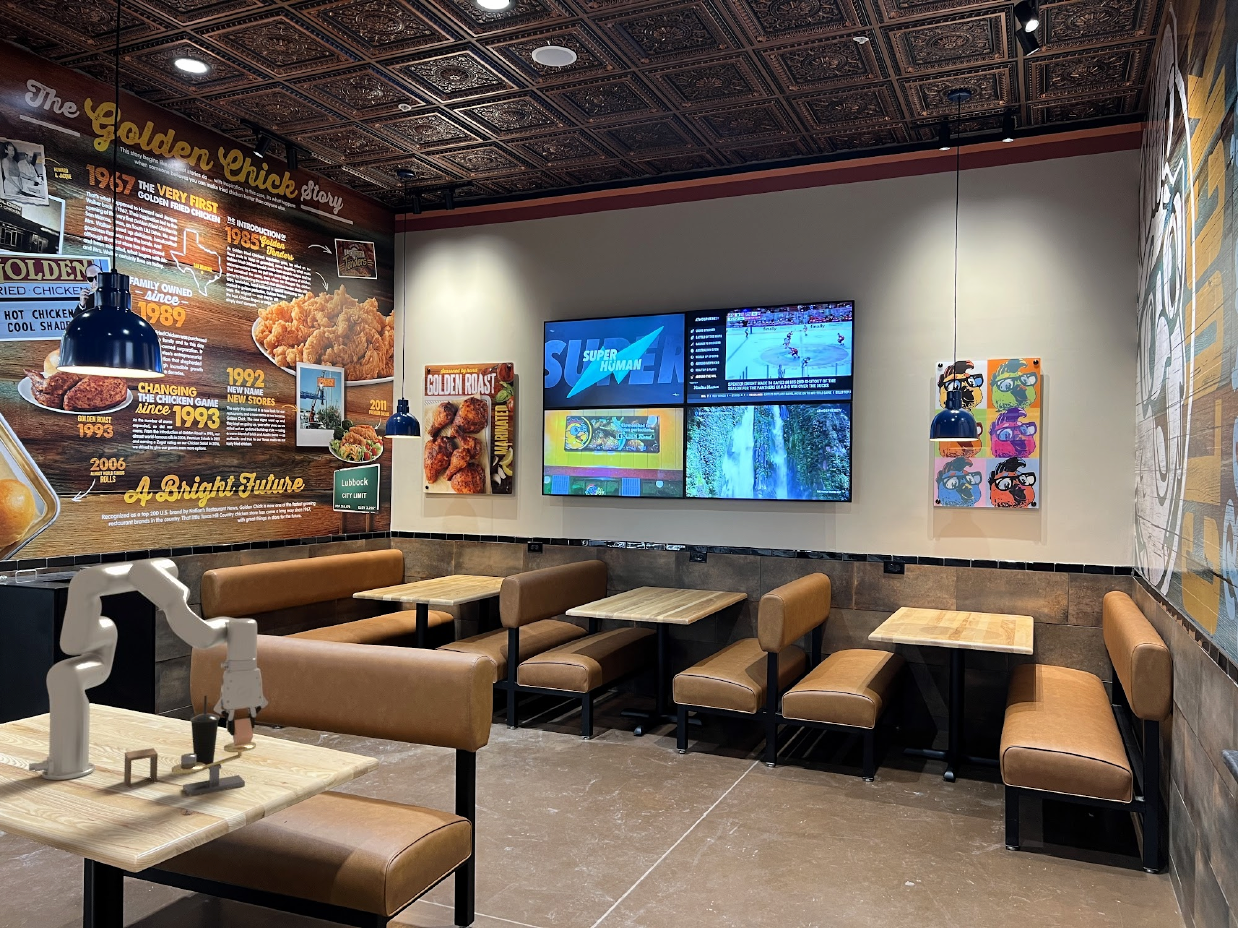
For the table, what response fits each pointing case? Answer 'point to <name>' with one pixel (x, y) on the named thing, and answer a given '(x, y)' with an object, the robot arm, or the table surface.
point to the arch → (140, 755)
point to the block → (242, 732)
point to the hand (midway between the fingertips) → (240, 731)
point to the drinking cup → (204, 735)
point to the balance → (211, 771)
